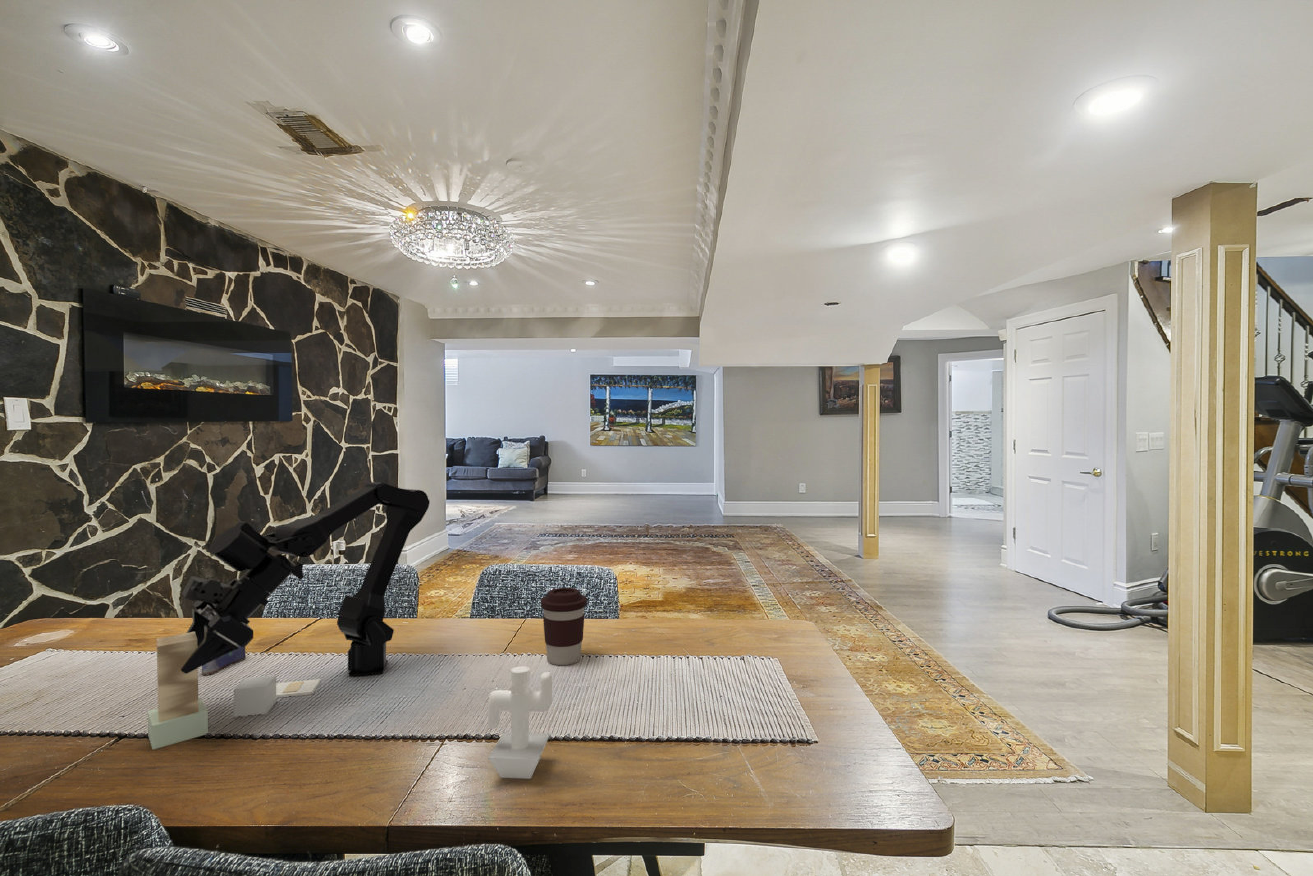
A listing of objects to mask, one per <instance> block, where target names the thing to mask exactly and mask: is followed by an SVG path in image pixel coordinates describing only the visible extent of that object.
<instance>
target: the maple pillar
mask: <svg viewBox="0 0 1313 876" xmlns="http://www.w3.org/2000/svg"><path fill="white" fill-rule="evenodd" d="M196 648H197V637H196V634H195V632H190V633H187V632H185V633H179V634H174V635H170V636H169V635H168V636H163V637H162V636H161V637H157V638H156V676H157V677H156V678H157V679H156V680H157V709H158V716H159V722H161V721H164V720H168V719H172V718H176V717H180V716H184V715H188V714H192V713H196V712H199V702H198V698H199V668H197V669H195V670H193V671H191V672H189V673H187V674H186V673H184V672H182V671H181V668H182V667H183V666H184V664H185V663H186V662H187V660H188V659H189V658H190V656H191V655H192V654H193V652H194V651H195V650H196Z"/></svg>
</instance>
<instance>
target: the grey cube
mask: <svg viewBox="0 0 1313 876" xmlns="http://www.w3.org/2000/svg"><path fill="white" fill-rule="evenodd" d="M276 683H277V675H276V674H274V675H273V674H271V675H262V676H253V677H244V678H243V680H241V682H239V683H238V684H237V686H236V687H235V688H233V718H239V717H238V716H243V717H249V716H248V715H252V716H258V715H257V714H261V715H267V714H268V713H269V711H271V709H272V708H273V706H275V704H276V703H277V698H276ZM271 707H272V708H271ZM255 714H256V715H255Z"/></svg>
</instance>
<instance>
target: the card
mask: <svg viewBox="0 0 1313 876" xmlns="http://www.w3.org/2000/svg"><path fill="white" fill-rule="evenodd" d="M321 682H322V679H321V678H317V679H308V680H298V681H286V682H278V683H277V682H276V699H278V698H280V699H281V698H289V696H291V697H300V696H311V695H313V694H314V692H315V691H316V689H317V688H318V687H319V685H320V684H321Z"/></svg>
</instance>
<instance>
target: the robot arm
mask: <svg viewBox="0 0 1313 876" xmlns="http://www.w3.org/2000/svg"><path fill="white" fill-rule="evenodd" d="M377 505H382V506H385V507H386V508H385V517H386V526H385V529H384V531H383V533H382V536H381V538H380V541H379V542H378V544H377V547H376V550H375V552H374V555H373V556H372V557H373V558H372V560H371V562H370V565H369V567H368V569H367V572H366V574H365V576H364V579H363V582H362V583H361V585H360V588H359V590H358V591H357V592H355V594H354V595H345V596H344V598H343V600H342V604H341V607H340V609H339V610H338V611H337V613H336V616H338V617H337V621H336V625H337V627H338V630H339V631H340V632H341V633H342V634H343V635H344V637H345V640H346V641H351V642H350V648H349V649H348V651H347V670H348V671H349V672H348V677H357V676H367V675H379V674H383V673H384V672H385V670H386V668H387V665H388V663H389V660H388V659H387V642H390V641H392V638H393V636H394V633H395V632H394V631H395V630H394V628H392V627H391V626H390V625H389V624H387V623H386V622H384V618H385V613H386V607H385V606H386V604H385V594H386V592H387V589H388V587H389V584H390V581H391V579H392V577H393V574H394V571H395V569H396V566H397V565H398V562H399V559H400V557H401V554H402V552H403V550H404V547H405V544H406V543H407V540H408V537H409V534H410V532H412V530H413V529H414V528H415V527H416V526H418V524H420V522H421V521H422V520H423V518H424V517H425V515H426V514H427V511H428V510H429V506H430V499H429V496H428V494H427V493H426V492H425V491H424V490H421V489H410V488H401V487H396V486H394V485H391V484H388V483H386V482H376V481H375V482H374V481H371V482H370V481H369V482H368V483H366V484H365V485H364V486H363V487H362V488H360V489H358V490H357V491H355V492H353V493H352V494H350V495H348V496H346V497H344V498H342V499H341V500H339V501H337V502H336V503H333V505H331V506H329V507H327V508H325V509H324V510H322V511H321V512H319V513H316V514H314V515H310V516H307V517H302V518H299V519H296V520H294V521H293V520H292V521H290V522H288V523H285V524H283V525H281V526H279V527H278V528H277V529H276V530H275V531H274V532H272V533H267V534H265V535H262V534H261V533H259V532H258V531H256V530H255V529H254V527H253V526H252V525H250V524H249V523H248V522H246V521H244V522H243V521H238V522H237V523H236V525H234V526H232V527H230V528H228V529H226V530H225V531H224V532H222V533H220V534H218V535H217V536H216V537H215V538H214V539H213V541H212V542H211V543H210V545H209V548H208V552H209V553H210V554H211V555H213V556H214V557H216V558H217V559H218V560H220V561H221V562H223V563H224V564H226V565H227V566H229V567H231V568H232V569H233V570H235V571H236V572H243V571H245V570H247V571H246V572H245V573H244V574H243V575H242V576H241V577H240V578H239V579H238V578H232V579H231V580H230V581H229V582H227V583H223V582H221V581H220V579H217V580H216V579H213V578H212V577H208V578H207V579H206V578H203V577H200V576H199V577H198V576H193V575H191V576H190V577H189V579H188V581H187V583H186V585H185V586H184V589H183V590H182V592H181V595H182V596H183V599H185V600H188V601H192V602H194V603H193V604H192V605H193V607H194V608H195V609H194V608H192V609H191V613H192V614H191V615H192V623H191V624H190V626H189V628H188V629H187V632H186V633H190V632H195V634H196V637H197V648H196V650H195V651H194V652H193V654H192V655H191V656H190V658H189V659H188V660H187V662H186V663H185V664H184V666H183V667H182V668H181V671H182V672H184V673H186V674H187V673H189V672H191V671H193V670H195V669H197V668H198V669H199V668H202V666H203V665H205V664H207V663H209V662H211V661H213V660H215V659H217V658H219V657H221V656H223V655H225V654H227V653H229V652H232V651H234V650H238V649H239V648H240V647H239V646H241V647H243V648H245V649H246V647H247V646H248V644H249V643H250V642H251V641H252V640H254V630H253V629H252V628H251V627H250V626H249V625H248V624H250V622H251V621H250V620H249V618H250V617H251V616H252V615H253V614H254V613H255V612H256V611H257V610H258V609H259V608H260V607H261V606H263V607H266V606H267V605H268V604H269V602H270V601H269V600H268V599H269V597H271V595H273V593H275V591H276V590H277V589H279V587H280V586H281V585H282V584H283V583H284V582H285V581H286V580H287V579H288V578H289V576H291V575H293V576H294V577H296V578H297V579H299V580H303V578H304V572H303V571H304V570H303V567H304V564H303V563H302V562H301V561H298V560H296V561H291V559H289V558H287V557H286V556H285V555H287V556H292V557H293V556H294V557H299V558H308V557H310V556H311V555H314V554H315V553H316V552H317V551H319V549H321V547H323V546H324V545H326V543H327V542H328V540H329V539H330V537H331V535H333V534H334V533H335V532H336V531H337V530H339V529H341V528H342V527H344V526H345V525H347V524H348V523H350V522H352V521H354V520H355V519H356V518H359V516H363V514H365V513H366V512H369V511H370V510H371V509H373V508H374V507H376V506H377ZM269 550H272V551H276V552H278V553H279V554H275V555H273V554H272V553H270V552H268V551H269ZM237 644H238V645H239V646H238V645H237Z"/></svg>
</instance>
